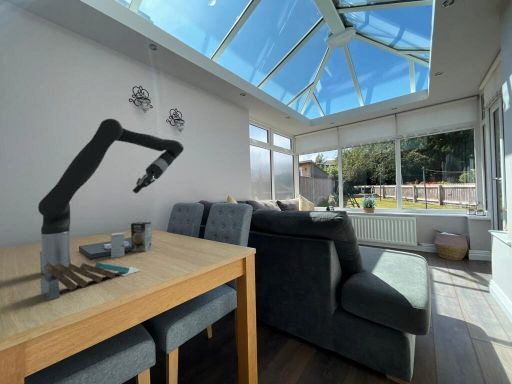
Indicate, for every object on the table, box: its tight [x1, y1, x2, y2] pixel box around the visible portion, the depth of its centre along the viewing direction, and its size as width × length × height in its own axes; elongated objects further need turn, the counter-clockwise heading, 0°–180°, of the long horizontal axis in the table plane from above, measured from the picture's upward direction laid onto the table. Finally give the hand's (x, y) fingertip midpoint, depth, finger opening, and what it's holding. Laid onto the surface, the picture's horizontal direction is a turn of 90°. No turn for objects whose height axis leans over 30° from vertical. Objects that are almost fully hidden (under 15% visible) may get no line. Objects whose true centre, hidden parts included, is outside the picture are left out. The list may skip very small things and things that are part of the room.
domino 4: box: [79, 262, 117, 279], centre depth 85 cm, size 2×5×11 cm
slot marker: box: [113, 266, 142, 277], centre depth 94 cm, size 7×8×1 cm
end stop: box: [40, 274, 60, 301], centre depth 73 cm, size 2×9×6 cm, turn 56°
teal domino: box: [94, 261, 130, 273], centre depth 89 cm, size 2×5×11 cm
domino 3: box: [67, 263, 104, 283], centre depth 81 cm, size 2×5×11 cm
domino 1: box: [43, 263, 78, 291], centre depth 76 cm, size 2×5×11 cm
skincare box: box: [110, 232, 125, 259], centre depth 118 cm, size 6×4×12 cm
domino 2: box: [54, 263, 89, 288], centre depth 78 cm, size 2×5×11 cm
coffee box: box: [130, 221, 153, 252], centre depth 130 cm, size 9×6×16 cm
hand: (134, 192), depth 107 cm, fingers closed
